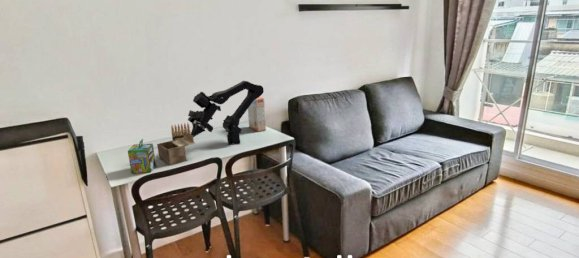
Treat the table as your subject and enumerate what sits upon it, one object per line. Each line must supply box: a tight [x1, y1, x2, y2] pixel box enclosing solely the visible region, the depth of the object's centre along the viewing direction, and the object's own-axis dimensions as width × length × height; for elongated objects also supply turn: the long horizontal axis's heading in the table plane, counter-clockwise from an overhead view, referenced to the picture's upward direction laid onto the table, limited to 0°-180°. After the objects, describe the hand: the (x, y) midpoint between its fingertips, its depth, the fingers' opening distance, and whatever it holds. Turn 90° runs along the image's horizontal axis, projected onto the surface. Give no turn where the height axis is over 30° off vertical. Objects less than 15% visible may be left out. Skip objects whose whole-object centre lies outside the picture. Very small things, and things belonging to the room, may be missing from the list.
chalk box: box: [127, 138, 157, 174], centre depth 162 cm, size 9×9×15 cm
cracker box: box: [247, 96, 267, 133], centre depth 220 cm, size 14×6×21 cm, turn 30°
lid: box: [171, 132, 196, 147], centre depth 176 cm, size 8×11×4 cm
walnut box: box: [156, 140, 187, 167], centre depth 174 cm, size 9×13×8 cm
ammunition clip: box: [170, 122, 192, 141], centre depth 198 cm, size 11×2×12 cm, turn 116°
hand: (190, 137), depth 179 cm, fingers closed
